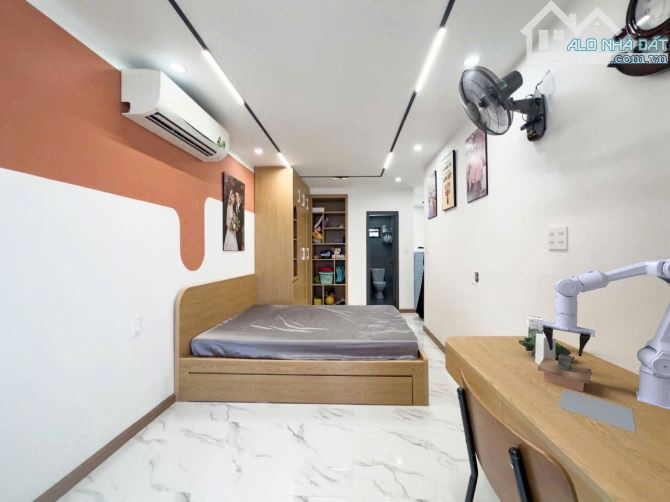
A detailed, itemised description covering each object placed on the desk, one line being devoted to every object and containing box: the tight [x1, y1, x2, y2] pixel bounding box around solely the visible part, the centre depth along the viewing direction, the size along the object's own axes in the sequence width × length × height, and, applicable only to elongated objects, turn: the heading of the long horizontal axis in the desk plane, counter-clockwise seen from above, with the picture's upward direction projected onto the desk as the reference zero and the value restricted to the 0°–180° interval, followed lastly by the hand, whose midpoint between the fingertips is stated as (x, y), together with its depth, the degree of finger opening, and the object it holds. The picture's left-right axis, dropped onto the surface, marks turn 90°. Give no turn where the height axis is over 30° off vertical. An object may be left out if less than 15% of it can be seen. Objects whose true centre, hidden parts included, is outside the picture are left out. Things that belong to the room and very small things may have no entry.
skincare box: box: [534, 333, 557, 366], centre depth 106 cm, size 6×4×12 cm
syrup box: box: [526, 315, 544, 338], centre depth 128 cm, size 6×6×14 cm
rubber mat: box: [557, 388, 637, 434], centre depth 77 cm, size 15×15×1 cm
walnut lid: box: [537, 354, 592, 385], centre depth 93 cm, size 13×13×5 cm
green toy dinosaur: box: [518, 333, 576, 363], centre depth 114 cm, size 12×18×12 cm
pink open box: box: [543, 372, 586, 393], centre depth 93 cm, size 10×10×4 cm
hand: (565, 352), depth 93 cm, fingers open, 7 cm apart
